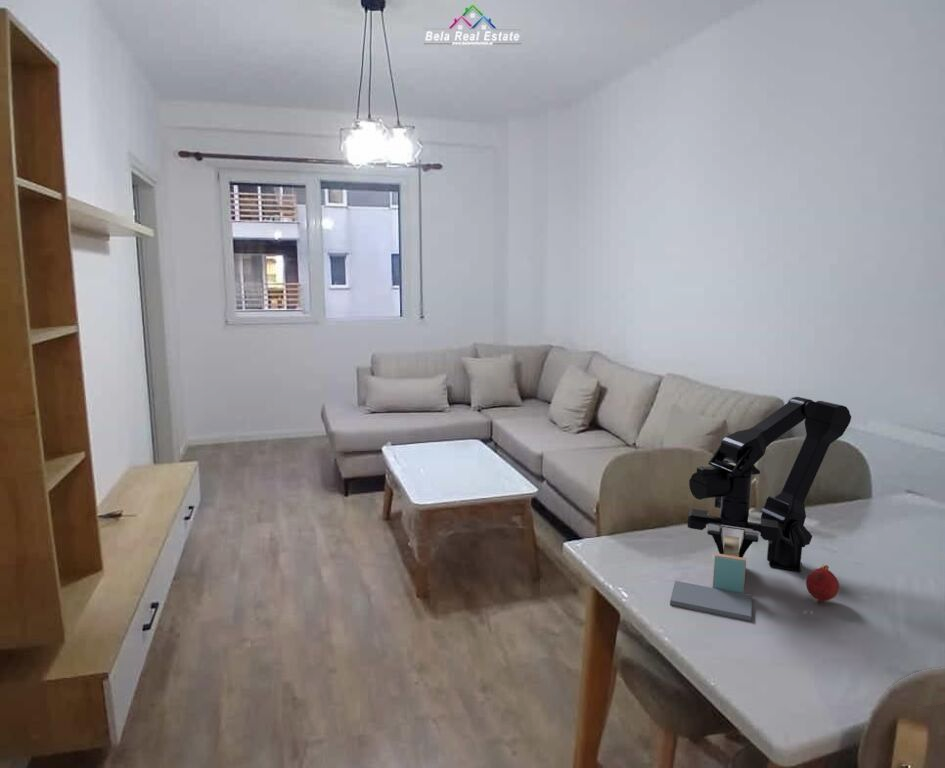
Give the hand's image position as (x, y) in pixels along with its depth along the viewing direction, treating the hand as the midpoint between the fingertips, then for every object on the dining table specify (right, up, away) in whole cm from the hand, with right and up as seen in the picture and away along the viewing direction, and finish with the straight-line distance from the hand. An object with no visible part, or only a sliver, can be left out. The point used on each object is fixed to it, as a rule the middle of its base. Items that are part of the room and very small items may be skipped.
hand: (730, 560), depth 140 cm
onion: (+14, -5, -11) cm, 19 cm away
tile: (-4, -4, -8) cm, 10 cm away
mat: (-9, -5, -12) cm, 16 cm away
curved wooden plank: (0, -1, 0) cm, 1 cm away
